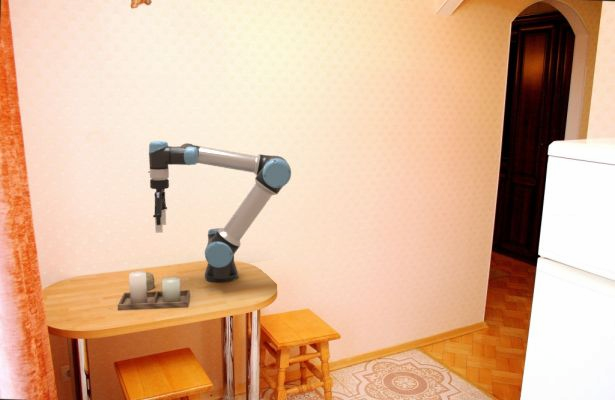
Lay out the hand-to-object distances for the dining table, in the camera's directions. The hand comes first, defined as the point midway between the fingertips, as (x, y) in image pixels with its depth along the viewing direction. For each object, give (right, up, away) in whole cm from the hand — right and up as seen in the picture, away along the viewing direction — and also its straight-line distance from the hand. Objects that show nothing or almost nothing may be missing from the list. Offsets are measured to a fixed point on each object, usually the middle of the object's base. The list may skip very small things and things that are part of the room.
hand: (161, 228), depth 221 cm
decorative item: (-8, -27, +3) cm, 28 cm away
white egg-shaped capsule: (+8, -29, -12) cm, 32 cm away
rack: (+1, -30, -13) cm, 32 cm away
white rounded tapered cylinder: (-5, -29, -14) cm, 32 cm away
